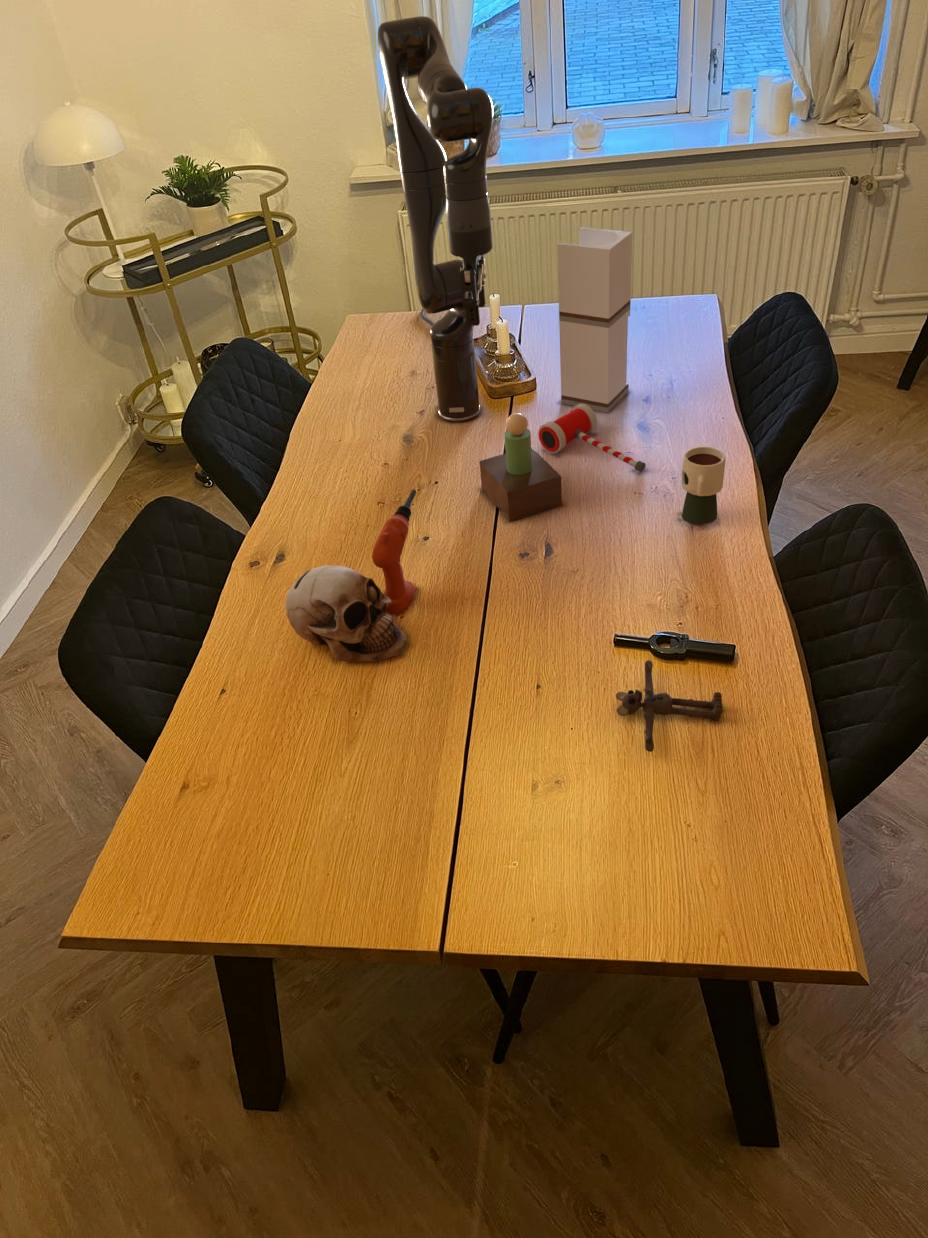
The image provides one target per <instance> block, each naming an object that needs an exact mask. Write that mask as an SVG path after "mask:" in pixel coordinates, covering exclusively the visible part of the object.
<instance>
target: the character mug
mask: <svg viewBox="0 0 928 1238" xmlns="http://www.w3.org/2000/svg"><path fill="white" fill-rule="evenodd" d="M682 458H683V459H682V469H681V470H682V471H681V487H682V488H683V490H684V491H686V494H685V498H684V502H683V507H682V513H681V518H682V519H683V521H684V522H686V523H688V524H689V525H707V524H712V523H714V522H715V521H716V520H717V519H718V498H717V494H719V493H720V492H721V491H722V490H723V486H724V479H725V470H726V469H725V468H726V460H727V459H726V458H727V457H726V454H725V452H724V451H722V450H721V449H719V448H717V447H715V446H708V445H701V446H700V445H699V446H694V447H691V448H689V449H686V451H685V452H684V453H683V457H682Z"/></svg>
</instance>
